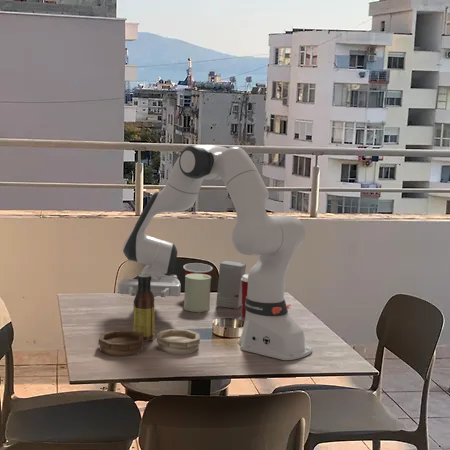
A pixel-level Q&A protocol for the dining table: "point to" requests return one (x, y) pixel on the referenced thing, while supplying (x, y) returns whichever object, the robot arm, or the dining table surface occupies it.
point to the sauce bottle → (144, 308)
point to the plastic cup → (197, 268)
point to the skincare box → (230, 284)
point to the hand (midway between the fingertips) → (147, 293)
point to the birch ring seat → (178, 341)
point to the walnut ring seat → (121, 343)
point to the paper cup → (244, 292)
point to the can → (197, 292)
